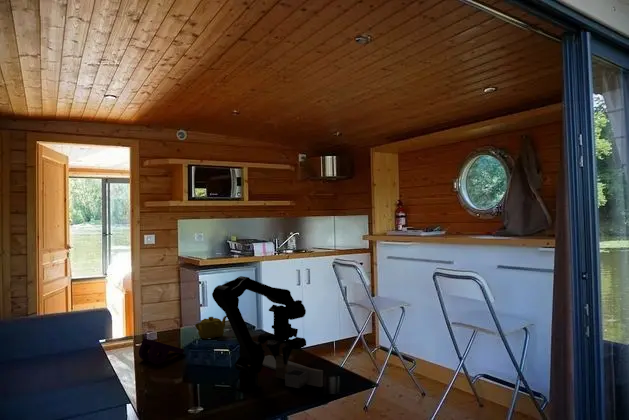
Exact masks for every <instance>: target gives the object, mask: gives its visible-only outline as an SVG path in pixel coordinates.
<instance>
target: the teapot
mask: <svg viewBox="0 0 629 420" xmlns="http://www.w3.org/2000/svg"><path fill="white" fill-rule="evenodd" d="M226 320H227V316H226V315H224V316H223V317H222V320H221V318H220V319H219V318H217V317H214V316H208V318H203V319H201V321H200V322H197V323H196V324H195V325H194V326H195V329H196V330H197V333H198V336H199V337H200V338H202V339H204V340H207V338H211V339H215V337H220V338H221V337H223V336H224V333H225V326H226Z"/></svg>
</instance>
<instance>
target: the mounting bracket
mask: <svg viewBox="0 0 629 420" xmlns="http://www.w3.org/2000/svg"><path fill="white" fill-rule="evenodd" d="M142 338H143V339H142V341H141V344H140V346H139V350H138V355H139V358H140V359H141V360H142V361H146V362H149V363H152V364H153V365H154V364H155V365H160V364H163V363H164V362H165V361H166V359H167V358H168V355H169V353H170V352H172V353H177V354H181V355H184V354H183V352H184V353H185V351H184V348H181V347H177V346H173V345H170V344H166V343H163V342H160V341H157V340H156V341H155V340H152V339H149V338H145V337H142Z"/></svg>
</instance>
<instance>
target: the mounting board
mask: <svg viewBox="0 0 629 420" xmlns="http://www.w3.org/2000/svg"><path fill="white" fill-rule="evenodd" d="M307 367H308V366H306V367H302V366H297V365H291V364H290V365H288V372H289V371H291V370H293V369H297V370H301V369H302V370H307V372H308V383H307V384H306V385H308V386H313V387H317V388H322V387H324V373H323V372H324V369H319V368H313V367H312V368H311V367H309V368H307Z"/></svg>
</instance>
